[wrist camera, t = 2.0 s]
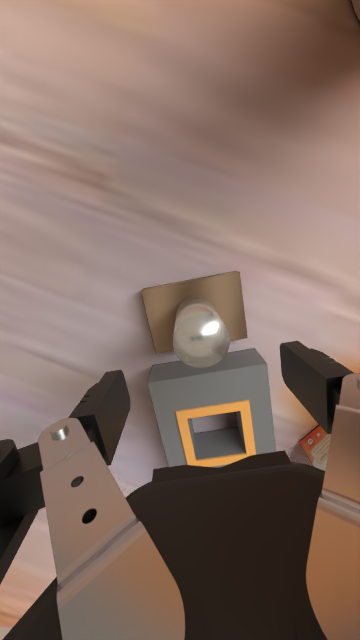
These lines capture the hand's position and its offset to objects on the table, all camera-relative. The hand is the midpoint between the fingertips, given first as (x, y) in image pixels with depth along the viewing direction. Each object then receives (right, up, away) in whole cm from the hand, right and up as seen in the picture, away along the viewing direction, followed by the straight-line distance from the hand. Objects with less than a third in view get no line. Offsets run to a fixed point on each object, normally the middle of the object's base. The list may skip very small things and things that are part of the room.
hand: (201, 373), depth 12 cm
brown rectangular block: (0, +4, +14) cm, 14 cm away
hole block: (+3, -9, +17) cm, 19 cm away
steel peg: (0, +3, +12) cm, 13 cm away
